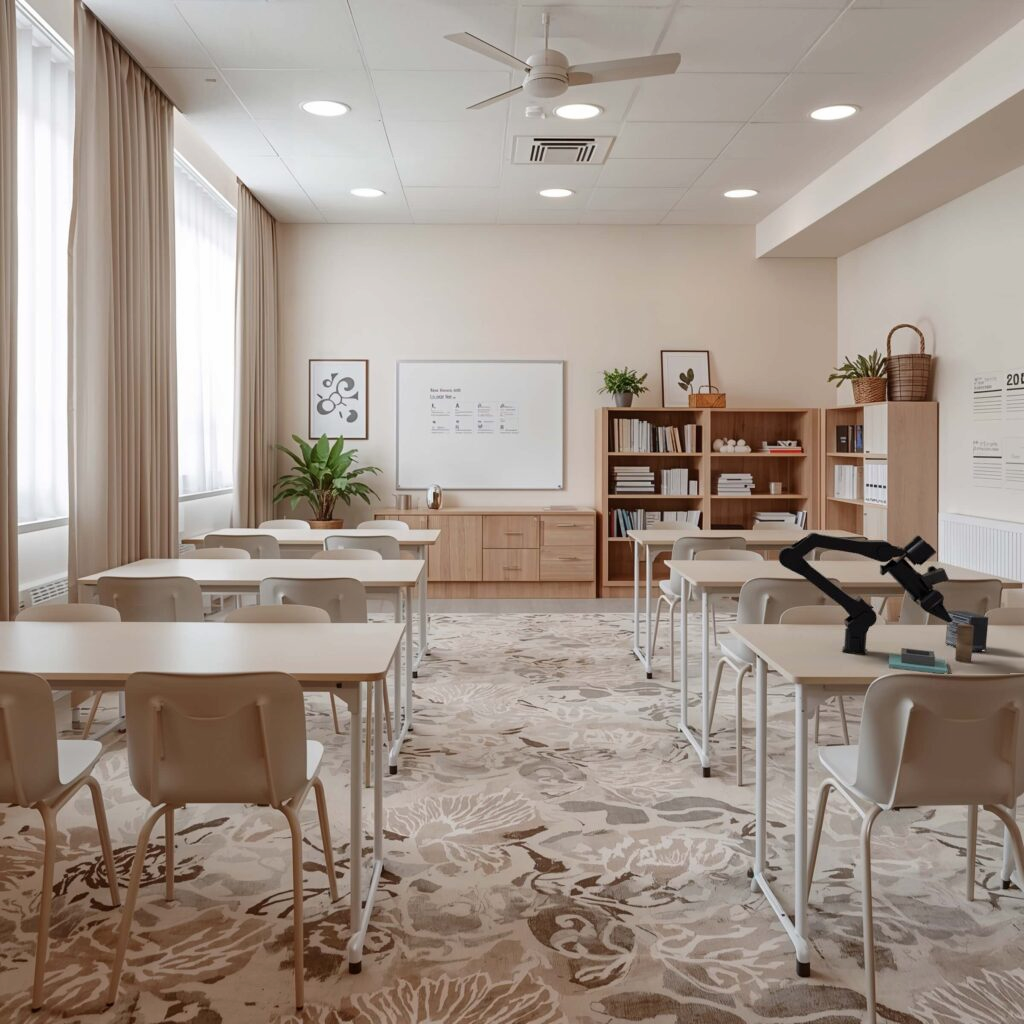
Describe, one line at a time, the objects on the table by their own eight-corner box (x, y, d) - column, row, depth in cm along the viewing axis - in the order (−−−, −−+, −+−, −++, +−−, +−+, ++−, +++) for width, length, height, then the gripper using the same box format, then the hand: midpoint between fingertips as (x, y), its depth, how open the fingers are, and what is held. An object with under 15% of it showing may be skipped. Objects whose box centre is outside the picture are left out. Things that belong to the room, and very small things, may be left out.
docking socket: (888, 657, 250) (889, 644, 250) (944, 663, 245) (945, 650, 244) (888, 667, 237) (889, 654, 237) (947, 674, 232) (948, 661, 231)
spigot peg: (954, 658, 251) (957, 623, 250) (970, 660, 249) (973, 625, 249) (955, 661, 247) (958, 625, 246) (971, 663, 246) (974, 627, 245)
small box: (987, 652, 261) (990, 616, 260) (967, 652, 260) (970, 616, 259) (963, 644, 272) (966, 610, 271) (944, 644, 271) (946, 610, 270)
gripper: (937, 561, 240) (979, 605, 238) (924, 554, 258) (963, 594, 256) (903, 588, 242) (945, 632, 240) (892, 579, 260) (931, 620, 258)
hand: (947, 618), depth 249 cm, fingers open, 9 cm apart
